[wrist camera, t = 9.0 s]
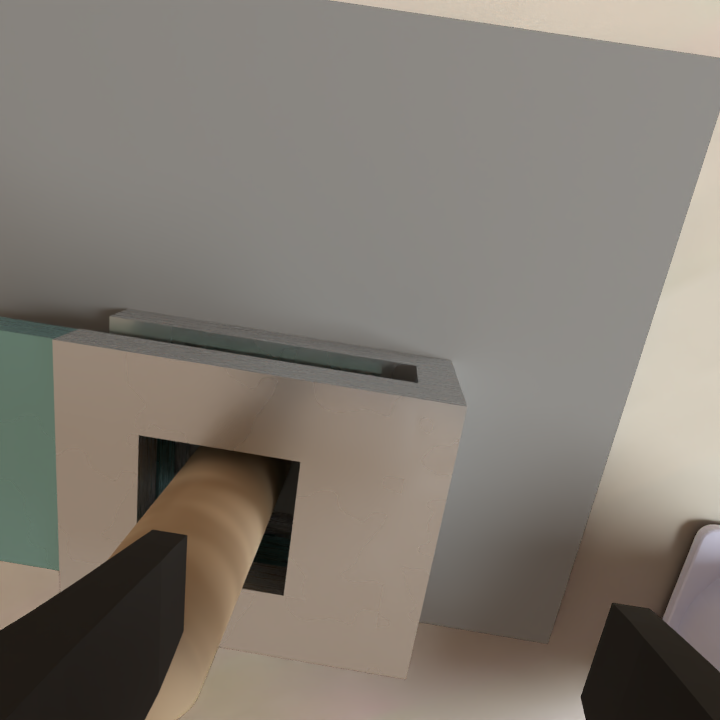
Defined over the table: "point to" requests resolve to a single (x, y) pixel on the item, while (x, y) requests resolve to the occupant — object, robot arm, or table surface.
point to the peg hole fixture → (243, 434)
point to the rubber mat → (371, 224)
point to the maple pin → (210, 554)
